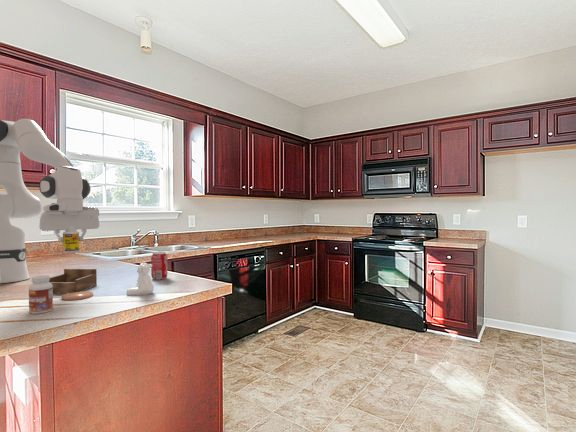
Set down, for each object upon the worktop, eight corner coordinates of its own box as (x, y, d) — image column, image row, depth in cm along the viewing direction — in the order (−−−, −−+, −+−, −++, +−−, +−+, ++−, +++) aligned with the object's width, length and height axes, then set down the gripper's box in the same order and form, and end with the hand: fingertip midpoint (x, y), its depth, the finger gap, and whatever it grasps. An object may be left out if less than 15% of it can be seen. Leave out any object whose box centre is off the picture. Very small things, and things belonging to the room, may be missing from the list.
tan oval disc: (55, 300, 124) (55, 298, 124) (73, 293, 134) (73, 291, 134) (82, 300, 123) (82, 298, 123) (98, 293, 133) (98, 291, 133)
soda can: (164, 276, 166) (163, 251, 165) (169, 278, 160) (169, 253, 160) (149, 278, 161) (148, 252, 161) (154, 281, 156) (154, 254, 155)
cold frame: (41, 292, 134) (41, 274, 134) (65, 285, 148) (65, 268, 148) (75, 293, 134) (75, 275, 134) (96, 285, 147) (96, 268, 147)
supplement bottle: (63, 253, 135) (62, 227, 135) (62, 252, 140) (62, 226, 139) (79, 252, 138) (79, 226, 138) (79, 251, 143) (78, 226, 142)
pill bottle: (24, 314, 107) (24, 279, 106) (35, 309, 113) (34, 275, 113) (47, 313, 108) (46, 278, 108) (56, 308, 114) (55, 274, 114)
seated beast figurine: (144, 289, 140) (144, 260, 139) (161, 291, 136) (160, 261, 136) (125, 295, 131) (124, 263, 131) (142, 297, 128) (142, 264, 127)
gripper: (96, 206, 148) (97, 239, 148) (38, 206, 134) (39, 242, 134) (101, 206, 143) (101, 239, 144) (40, 206, 129) (41, 243, 130)
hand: (71, 241), depth 139 cm, fingers closed on supplement bottle, 6 cm apart
